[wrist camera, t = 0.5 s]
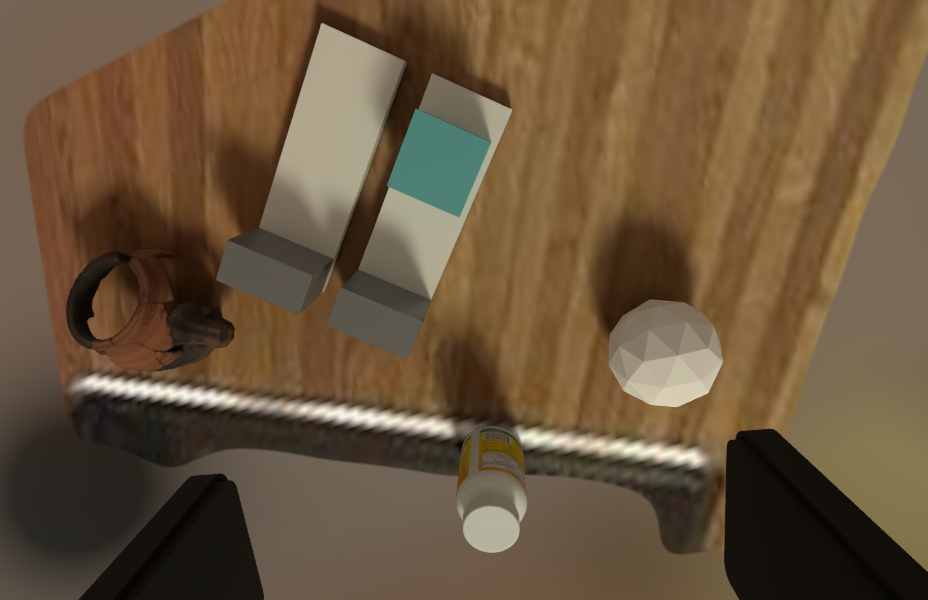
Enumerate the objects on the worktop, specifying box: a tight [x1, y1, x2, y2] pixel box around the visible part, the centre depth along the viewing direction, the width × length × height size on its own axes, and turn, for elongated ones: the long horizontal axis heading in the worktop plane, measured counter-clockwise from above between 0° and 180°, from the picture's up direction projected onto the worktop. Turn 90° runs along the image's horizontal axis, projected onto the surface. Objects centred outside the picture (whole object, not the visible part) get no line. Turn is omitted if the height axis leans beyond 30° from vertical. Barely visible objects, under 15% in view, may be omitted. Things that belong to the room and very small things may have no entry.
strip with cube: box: [327, 73, 512, 358], centre depth 37 cm, size 18×6×6 cm, turn 157°
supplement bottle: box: [456, 426, 527, 552], centre depth 41 cm, size 5×5×10 cm
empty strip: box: [216, 23, 407, 314], centre depth 36 cm, size 18×6×6 cm, turn 157°
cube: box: [387, 109, 491, 217], centre depth 35 cm, size 5×5×5 cm
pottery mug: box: [66, 248, 235, 371], centre depth 41 cm, size 12×10×8 cm
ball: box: [609, 299, 723, 407], centre depth 39 cm, size 8×8×8 cm
